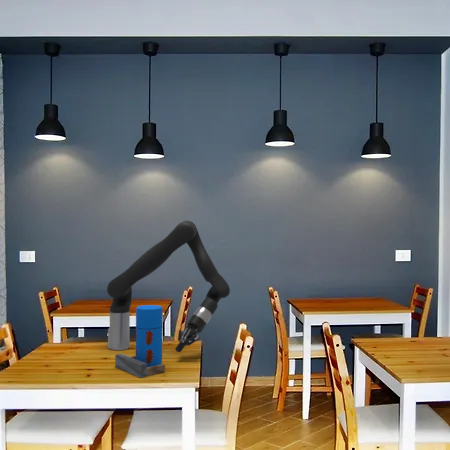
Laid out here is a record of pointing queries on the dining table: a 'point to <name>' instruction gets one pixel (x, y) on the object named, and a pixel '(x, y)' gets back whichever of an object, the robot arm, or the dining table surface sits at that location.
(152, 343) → the thermos
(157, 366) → the bay
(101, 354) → the dining table surface
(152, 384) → the dining table surface
